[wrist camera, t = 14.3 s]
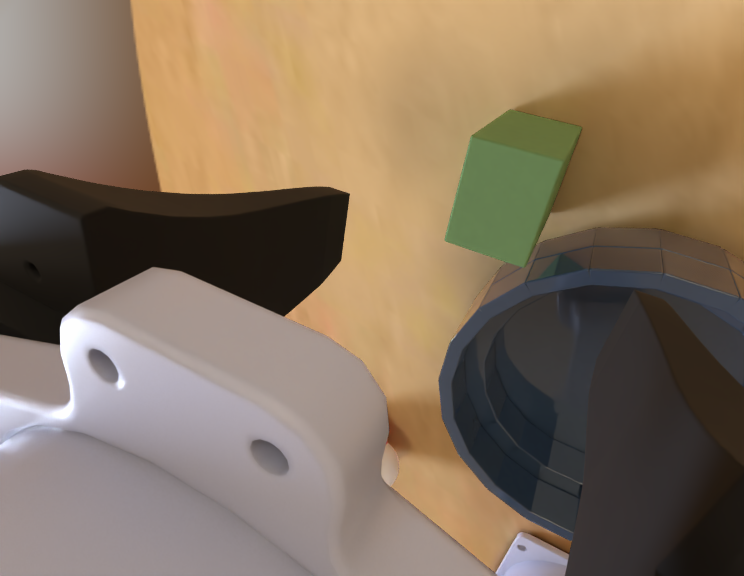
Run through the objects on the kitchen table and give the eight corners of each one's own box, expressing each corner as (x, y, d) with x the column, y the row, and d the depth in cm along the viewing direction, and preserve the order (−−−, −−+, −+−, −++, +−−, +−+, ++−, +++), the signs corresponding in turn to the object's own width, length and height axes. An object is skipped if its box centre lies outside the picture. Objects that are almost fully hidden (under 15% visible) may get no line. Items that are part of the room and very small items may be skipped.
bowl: (697, 520, 23) (709, 611, 19) (442, 404, 27) (412, 462, 23) (905, 296, 16) (983, 375, 12) (514, 181, 20) (488, 216, 16)
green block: (549, 215, 20) (524, 269, 15) (483, 195, 20) (443, 241, 16) (583, 126, 18) (565, 160, 13) (509, 108, 19) (470, 135, 14)
